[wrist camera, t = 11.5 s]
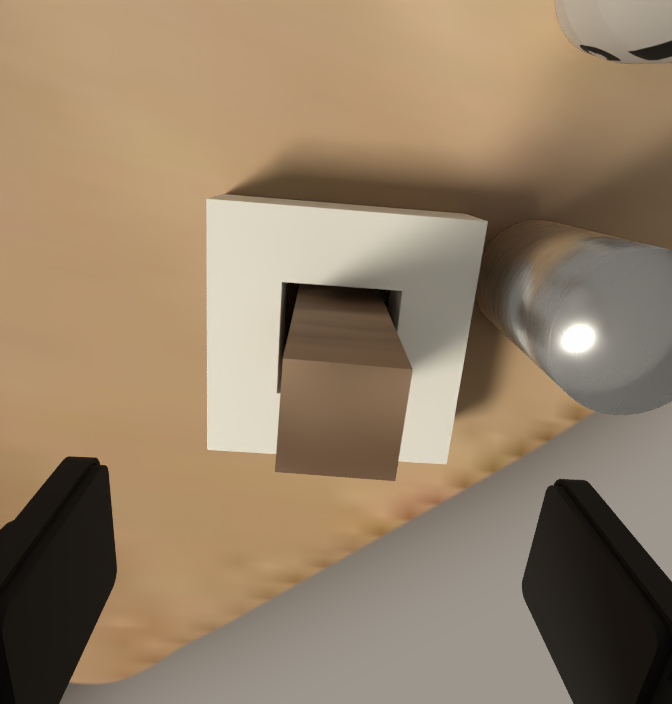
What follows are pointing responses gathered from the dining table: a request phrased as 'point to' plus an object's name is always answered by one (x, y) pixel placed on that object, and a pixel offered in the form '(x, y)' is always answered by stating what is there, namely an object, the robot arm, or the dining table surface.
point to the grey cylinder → (584, 311)
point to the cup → (619, 28)
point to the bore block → (335, 270)
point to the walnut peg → (342, 386)
